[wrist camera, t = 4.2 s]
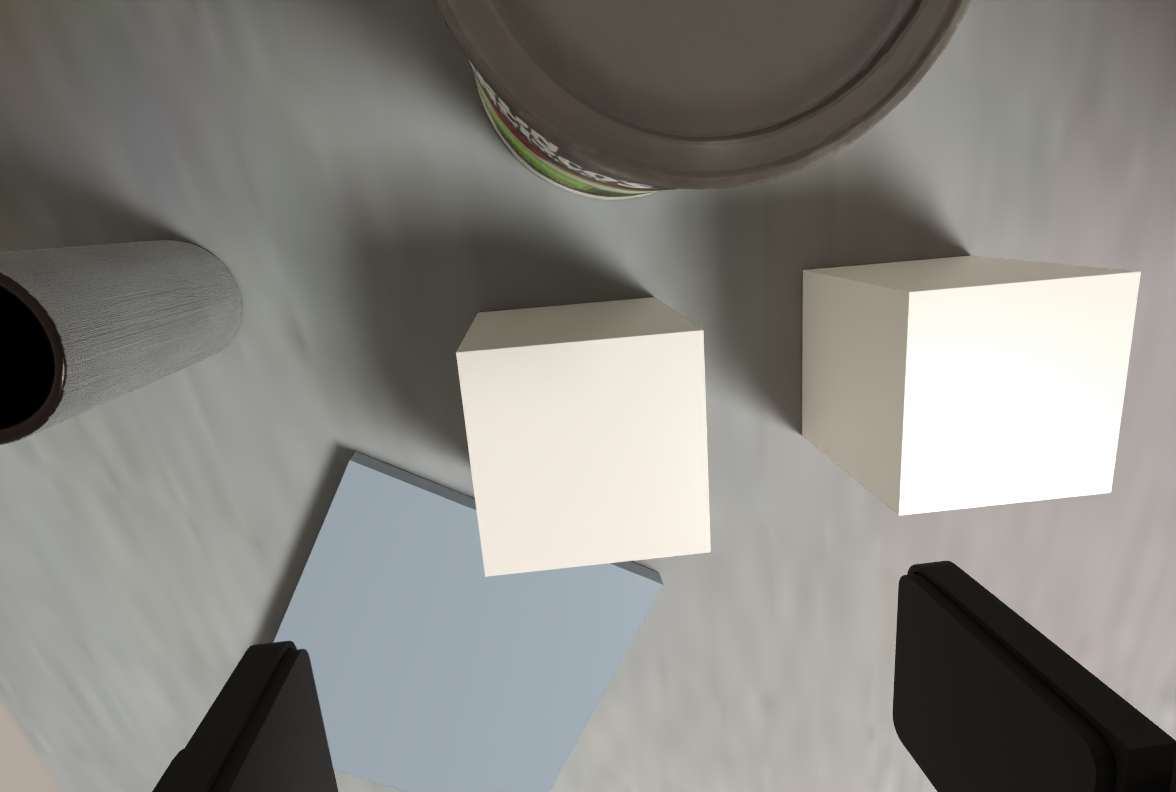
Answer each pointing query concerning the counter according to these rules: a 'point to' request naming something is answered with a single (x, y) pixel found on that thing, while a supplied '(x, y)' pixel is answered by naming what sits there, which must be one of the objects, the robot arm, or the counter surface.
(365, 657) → the slate board
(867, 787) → the counter surface
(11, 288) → the grey cylinder
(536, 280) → the counter surface
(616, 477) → the white box
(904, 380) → the plain white cube box
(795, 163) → the coffee can
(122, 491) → the counter surface
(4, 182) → the counter surface
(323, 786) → the robot arm
